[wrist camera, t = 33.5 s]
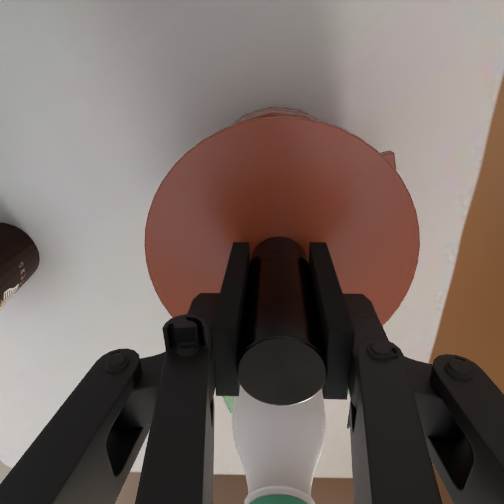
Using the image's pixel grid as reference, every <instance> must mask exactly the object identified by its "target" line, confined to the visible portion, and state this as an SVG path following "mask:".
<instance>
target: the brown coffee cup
mask: <svg viewBox="0 0 504 504" xmlns="http://www.w3.org/2000/svg"><path fill="white" fill-rule="evenodd" d="M38 265H39V253H38V250H37V248H36V246H35V244H34V242H33V241H32V240H31V238H30V237H29V236H28V235H27V234H26V233H24V232H23V231H22V230H20V229H19V228H17V227H15V226H12V225H9V224H6V223H0V309H1V308H2V307H3V306H4V305H5V304H6V302H7V301H8V300H9V299H10V298H11V297H12V296H13V295H14V294H15V293H16V292H17V291H18V289H19V288H20V287H21V286H22V285H23V284H24V283H25V282H26V281H27V280H28V279H29V277H30V276H31V275H32V274H33V273H34V272H35V271H36V269H37V268H38Z"/></svg>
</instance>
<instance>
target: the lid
mask: <svg viewBox="0 0 504 504" xmlns="http://www.w3.org/2000/svg"><path fill="white" fill-rule="evenodd" d="M233 242H249V246H250V267H249V275H248V282H247V289H246V297H245V304H244V311H243V319H242V326H241V333H240V340H239V348H238V355H237V362H236V375H237V378H238V381H239V383H240V385H241V386H242V388H243V389H244V390H245V391H246V393H248V394H249V395H250V396H251V397H253V398H255V399H256V400H258V401H261V402H263V403H266V404H270V405H276V406H289V405H295V404H299V403H302V402H305V401H307V400H309V399H311V398H312V397H314V396H315V395H316V394H317V393H318V392H319V391H320V390H321V389H322V387H323V386H324V384H325V382H326V379H327V375H328V366H327V360H326V355H325V350H324V344H323V339H322V334H321V329H320V323H319V318H318V313H317V307H316V302H315V297H314V292H313V286H312V281H311V276H310V270H309V265H308V264H309V244H310V242H326V243H327V246H328V250H329V253H330V256H331V259H332V262H333V265H334V268H335V271H336V274H337V277H338V280H339V284H340V287H341V290H342V293H344V294H363V295H365V296H366V297H367V298H368V299H369V300H370V301H371V302H372V304H373V307H374V309H375V311H376V313H377V316H378V318H379V320H380V322H381V325H382V326H383V325H384V324H385V323H386V322H387V321H388V320H389V319H390V317H391V316H392V315H393V314H394V312H395V311H396V310H397V309H398V307H399V306H400V304H401V302H402V301H403V299H404V297H405V296H406V294H407V292H408V290H409V287H410V285H411V283H412V280H413V278H414V274H415V270H416V267H417V263H418V255H419V247H420V239H419V225H418V220H417V214H416V210H415V207H414V204H413V201H412V199H411V196H410V194H409V192H408V190H407V188H406V186H405V184H404V182H403V181H402V179H401V177H400V176H399V175H398V173H397V172H396V171H395V169H394V168H393V167H392V165H391V164H390V163H389V162H388V161H387V160H386V159H385V158H384V157H383V156H382V155H381V154H380V153H379V152H378V151H377V150H375V149H374V148H373V147H371V146H370V145H369V144H367V143H366V142H364V141H363V140H362V139H360V138H359V137H357V136H355V135H353V134H351V133H349V132H347V131H345V130H343V129H341V128H339V127H336V126H333V125H330V124H328V123H325V122H322V121H317V120H312V119H307V118H302V117H285V116H277V117H266V118H258V119H254V120H249V121H245V122H241V123H238V124H235V125H232V126H230V127H227V128H225V129H222V130H220V131H218V132H216V133H215V134H213V135H211V136H209V137H207V138H206V139H204V140H203V141H201V142H200V143H199V144H197V145H196V146H195V147H193V148H192V149H191V150H189V151H188V152H187V153H186V154H185V155H184V156H183V157H182V158H181V159H180V160H179V161H178V162H177V163H176V164H175V165H174V166H173V167H172V169H171V170H170V171H169V173H168V174H167V175H166V177H165V178H164V180H163V181H162V183H161V185H160V187H159V188H158V190H157V192H156V194H155V196H154V199H153V201H152V204H151V207H150V210H149V213H148V218H147V223H146V228H145V254H146V262H147V267H148V271H149V275H150V278H151V281H152V283H153V286H154V288H155V291H156V293H157V295H158V296H159V298H160V300H161V302H162V304H163V305H164V307H165V308H166V309H167V311H168V312H169V313H170V315H171V316H172V317H173V318H174V317H176V316H179V315H184V314H187V313H188V310H189V308H190V305H191V302H192V300H193V299H194V298H195V297H196V296H197V295H198V294H200V293H220V291H221V287H222V283H223V279H224V275H225V272H226V268H227V264H228V260H229V256H230V253H231V249H232V245H233Z"/></svg>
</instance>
